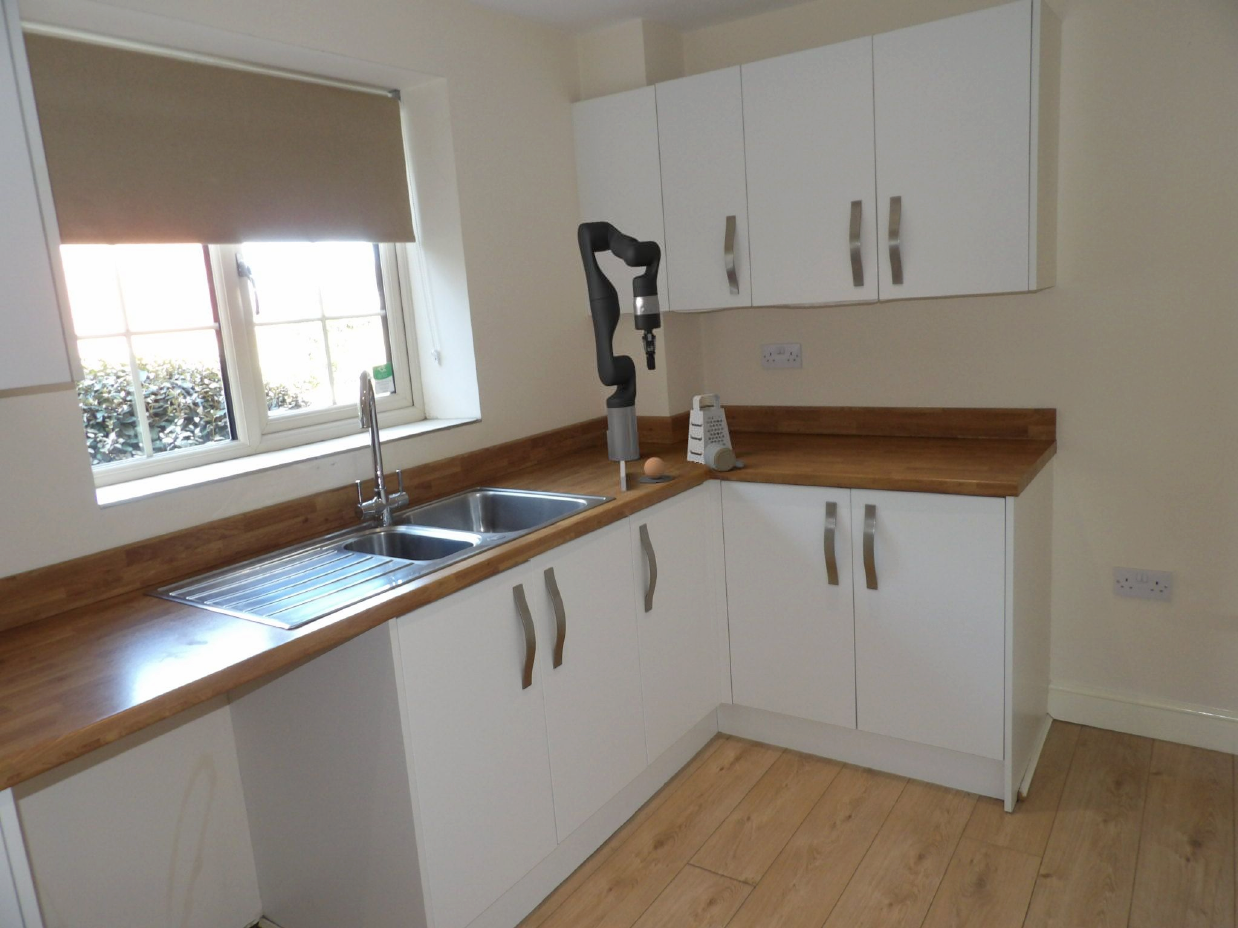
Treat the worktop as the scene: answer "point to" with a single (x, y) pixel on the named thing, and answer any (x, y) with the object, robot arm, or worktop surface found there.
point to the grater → (706, 428)
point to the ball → (654, 468)
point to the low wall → (623, 475)
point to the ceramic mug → (720, 457)
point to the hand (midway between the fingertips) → (651, 368)
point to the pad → (650, 480)
